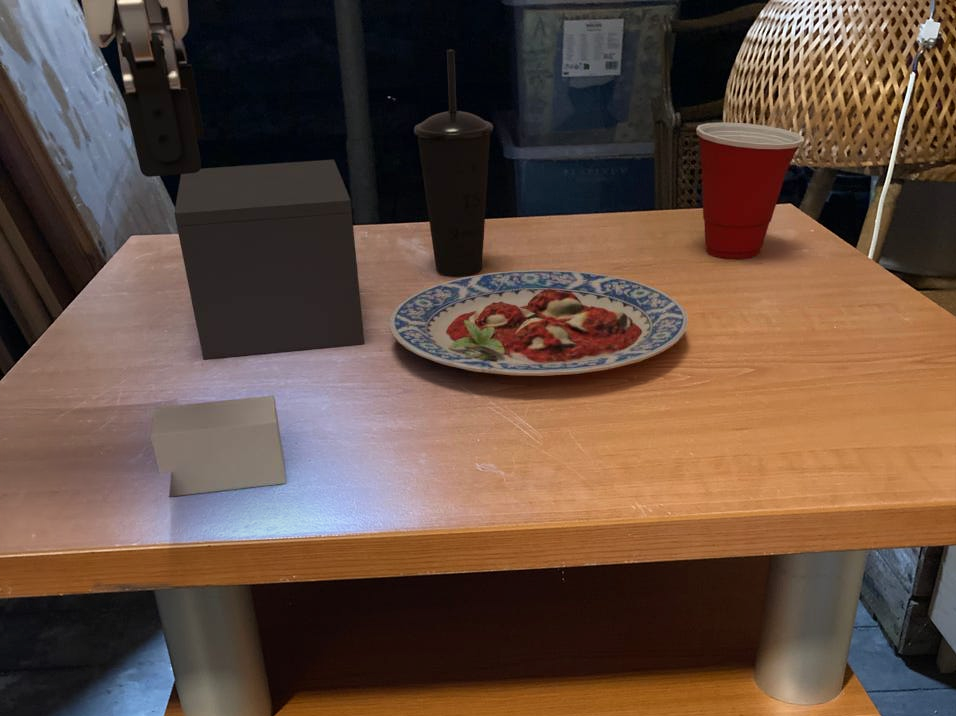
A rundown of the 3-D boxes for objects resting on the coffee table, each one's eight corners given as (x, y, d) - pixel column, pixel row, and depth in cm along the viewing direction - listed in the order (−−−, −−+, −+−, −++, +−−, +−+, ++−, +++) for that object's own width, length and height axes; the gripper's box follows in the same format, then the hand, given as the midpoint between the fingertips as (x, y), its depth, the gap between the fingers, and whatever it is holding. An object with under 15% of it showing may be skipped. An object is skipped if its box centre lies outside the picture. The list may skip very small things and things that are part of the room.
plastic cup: (795, 266, 103) (816, 138, 96) (689, 267, 103) (702, 140, 96) (777, 237, 111) (794, 117, 104) (679, 237, 112) (690, 119, 105)
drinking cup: (407, 271, 105) (392, 52, 93) (457, 254, 109) (449, 43, 97) (459, 286, 100) (451, 57, 88) (510, 267, 105) (508, 48, 93)
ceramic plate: (589, 277, 101) (590, 247, 100) (747, 360, 83) (752, 325, 81) (350, 320, 93) (347, 288, 91) (466, 424, 74) (465, 385, 72)
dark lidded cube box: (203, 359, 86) (174, 213, 79) (206, 301, 99) (181, 169, 91) (364, 344, 88) (350, 199, 81) (347, 288, 101) (334, 159, 93)
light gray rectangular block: (165, 497, 66) (150, 435, 64) (168, 467, 70) (154, 407, 67) (286, 483, 67) (276, 421, 65) (283, 454, 71) (273, 394, 68)
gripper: (40, -214, 54) (121, 134, 64) (-21, -255, 40) (94, 196, 51) (181, -218, 55) (238, 125, 65) (168, -260, 41) (243, 182, 52)
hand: (175, 155), depth 58 cm, fingers open, 9 cm apart
